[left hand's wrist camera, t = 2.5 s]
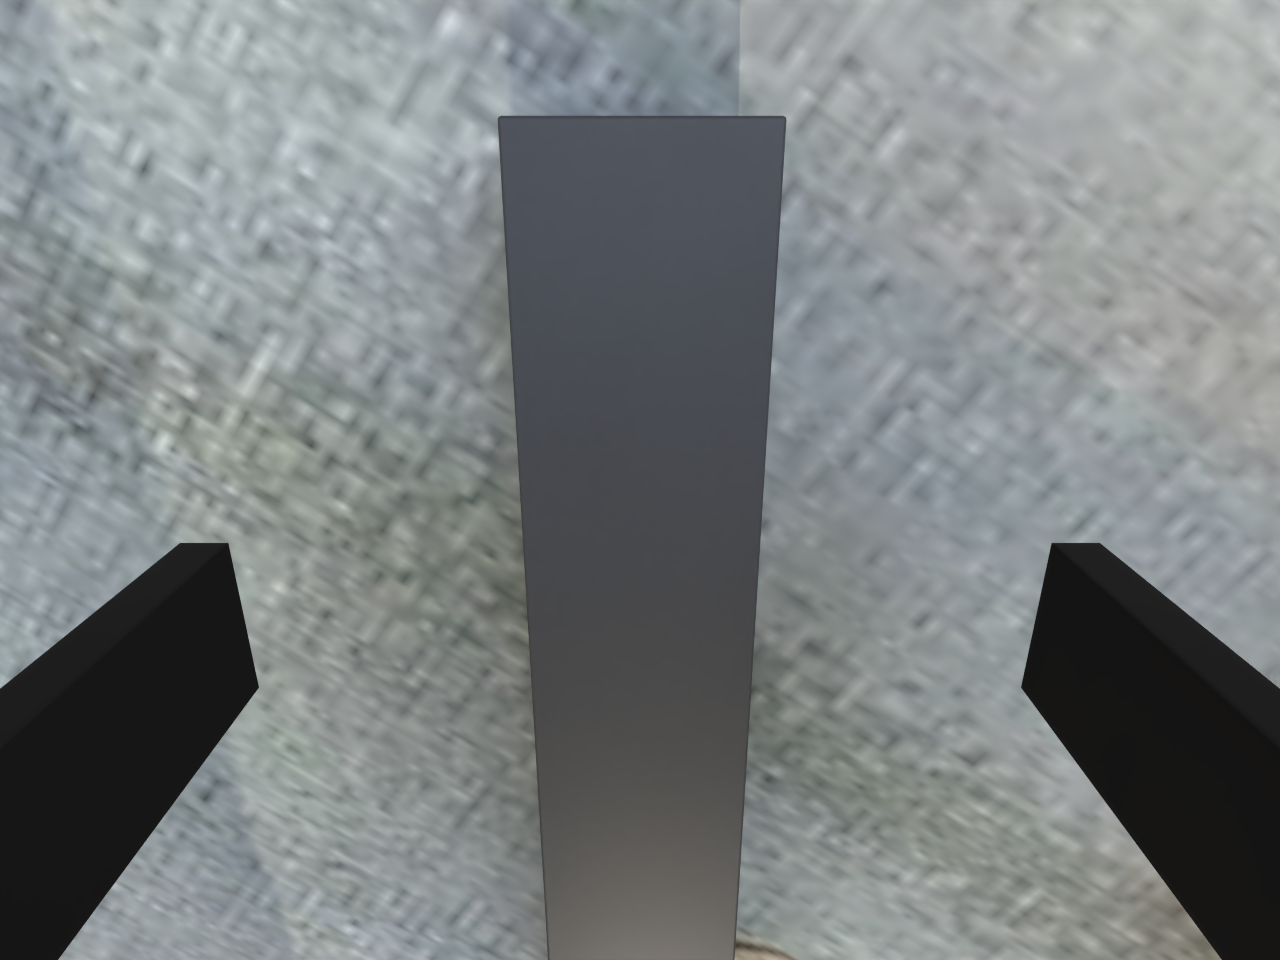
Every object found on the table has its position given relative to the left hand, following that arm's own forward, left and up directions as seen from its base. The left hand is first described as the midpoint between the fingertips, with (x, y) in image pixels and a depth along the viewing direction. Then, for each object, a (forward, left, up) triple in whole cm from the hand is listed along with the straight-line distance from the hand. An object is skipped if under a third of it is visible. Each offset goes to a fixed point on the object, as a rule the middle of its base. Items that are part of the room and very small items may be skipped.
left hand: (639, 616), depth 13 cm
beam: (+2, +18, -14) cm, 22 cm away
